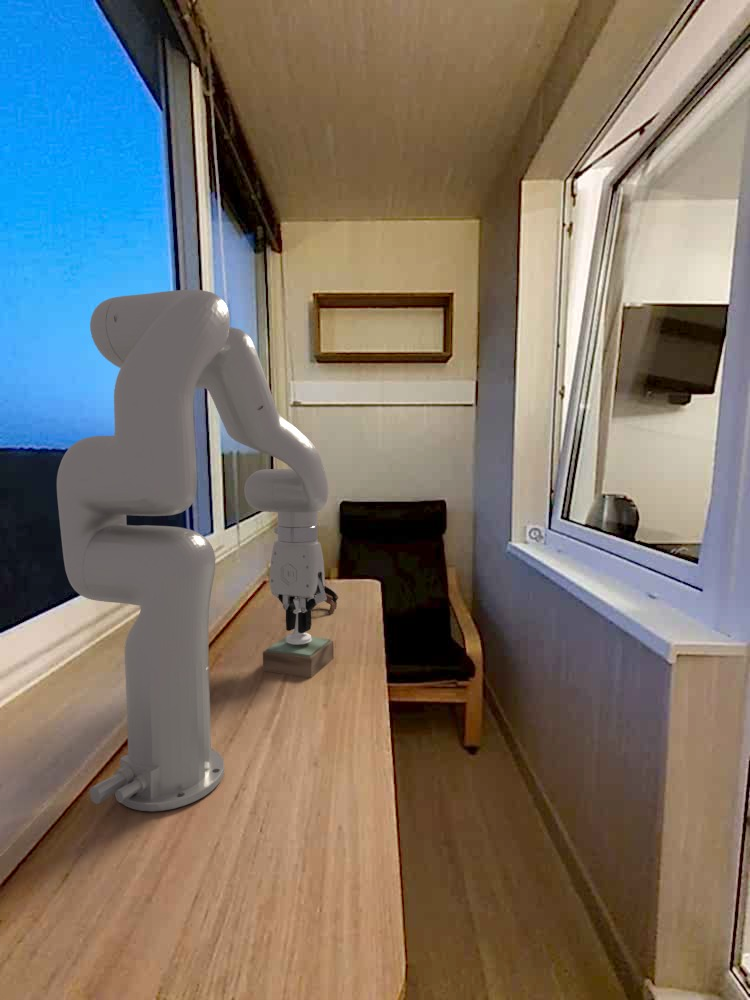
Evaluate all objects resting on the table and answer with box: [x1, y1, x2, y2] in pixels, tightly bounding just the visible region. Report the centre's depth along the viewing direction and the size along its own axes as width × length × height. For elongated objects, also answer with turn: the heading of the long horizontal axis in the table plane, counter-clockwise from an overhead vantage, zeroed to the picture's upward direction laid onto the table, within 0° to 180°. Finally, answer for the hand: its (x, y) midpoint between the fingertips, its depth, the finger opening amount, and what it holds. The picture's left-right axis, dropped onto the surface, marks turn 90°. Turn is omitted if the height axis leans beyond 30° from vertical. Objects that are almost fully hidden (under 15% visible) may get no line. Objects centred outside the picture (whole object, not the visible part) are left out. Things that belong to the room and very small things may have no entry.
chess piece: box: [285, 597, 312, 645], centre depth 104 cm, size 5×5×10 cm
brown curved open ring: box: [314, 585, 339, 615], centre depth 139 cm, size 12×10×8 cm
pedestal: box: [262, 635, 335, 678], centre depth 105 cm, size 10×10×4 cm
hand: (298, 629), depth 104 cm, fingers closed on chess piece
